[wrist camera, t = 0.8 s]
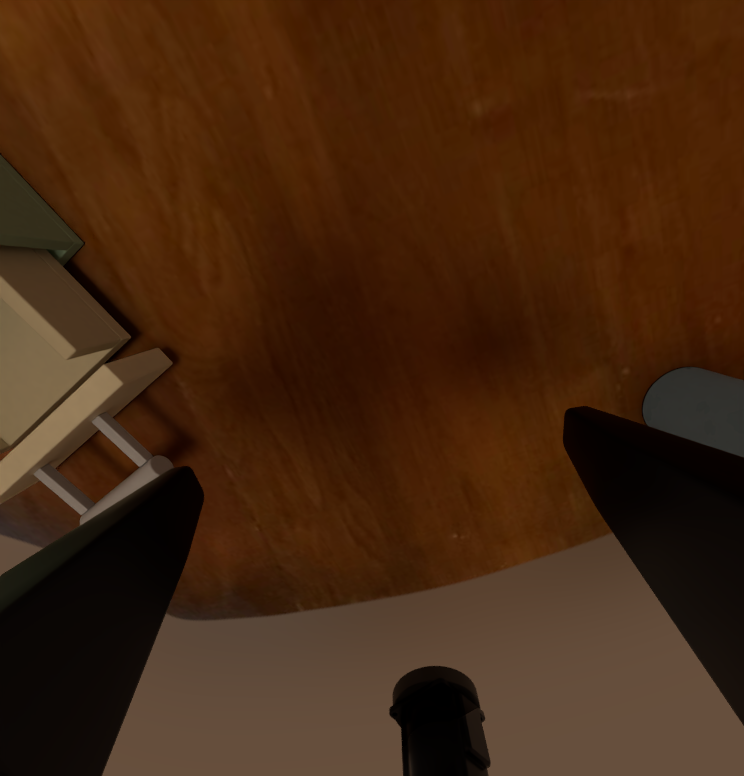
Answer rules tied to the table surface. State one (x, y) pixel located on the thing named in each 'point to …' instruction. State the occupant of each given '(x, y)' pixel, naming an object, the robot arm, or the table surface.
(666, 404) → the canister
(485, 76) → the table surface
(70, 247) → the cabinet
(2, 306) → the drawer
